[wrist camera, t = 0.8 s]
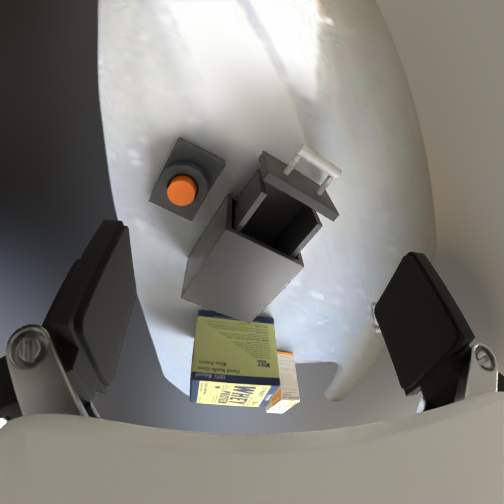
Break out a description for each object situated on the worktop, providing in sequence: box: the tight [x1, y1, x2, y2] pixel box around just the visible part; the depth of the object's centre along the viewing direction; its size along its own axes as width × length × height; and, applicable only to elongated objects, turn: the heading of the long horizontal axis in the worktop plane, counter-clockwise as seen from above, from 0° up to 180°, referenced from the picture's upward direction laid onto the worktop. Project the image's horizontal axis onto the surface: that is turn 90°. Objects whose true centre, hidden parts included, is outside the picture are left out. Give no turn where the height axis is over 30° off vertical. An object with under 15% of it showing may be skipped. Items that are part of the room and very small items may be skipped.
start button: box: [167, 175, 197, 206], centre depth 36 cm, size 4×4×2 cm
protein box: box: [190, 310, 280, 407], centre depth 54 cm, size 10×16×16 cm
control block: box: [149, 138, 226, 221], centre depth 38 cm, size 10×7×3 cm
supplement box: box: [266, 351, 300, 413], centre depth 64 cm, size 8×5×13 cm, turn 158°
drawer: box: [232, 144, 341, 258], centre depth 37 cm, size 17×10×7 cm, turn 148°
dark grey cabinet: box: [181, 194, 304, 324], centre depth 43 cm, size 14×12×9 cm
